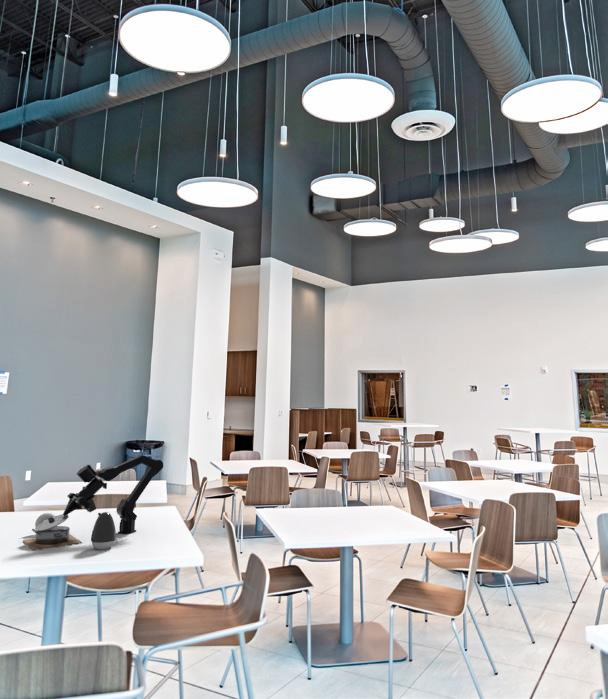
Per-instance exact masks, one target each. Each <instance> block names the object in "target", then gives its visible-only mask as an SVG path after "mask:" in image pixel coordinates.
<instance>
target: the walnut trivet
mask: <svg viewBox="0 0 608 699" xmlns="http://www.w3.org/2000/svg"><path fill="white" fill-rule="evenodd" d="M22 542H23V543H24V544H25V545H26V544H27V545H28V546H29V549H30V550H32V551H37V550H36V549H40V550H45V549H44V548H47V549H52V547H54V548H59V546H61V547H66V546H65V545H68V546H72V544H75V545H80V544H79V543H82V544H83V542H82V541H81V540H79V539H78V538H77V537H75V536H74V535H72V534H70V533H69V540H68V541H67V542H64V543H59V544H52V545H40V544H36V543H35V542H36V537H35V538H29V539H22ZM27 545H26V546H27ZM28 546H27V547H28Z"/></svg>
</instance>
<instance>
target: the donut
mask: <svg viewBox="0 0 608 699" xmlns="http://www.w3.org/2000/svg"><path fill="white" fill-rule="evenodd" d="M52 516H53V517H55V516H56V515H55V514H53V513H52V512H46V513H45V512H43V513H42V514H40V515H39V516H38V517H37V519H36V520H35V523H34V525H35V528H36V527H37V526H38V525H39V524H40V523H42V522H44V521H45V520H47V519H48V518H49V517H52Z"/></svg>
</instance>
